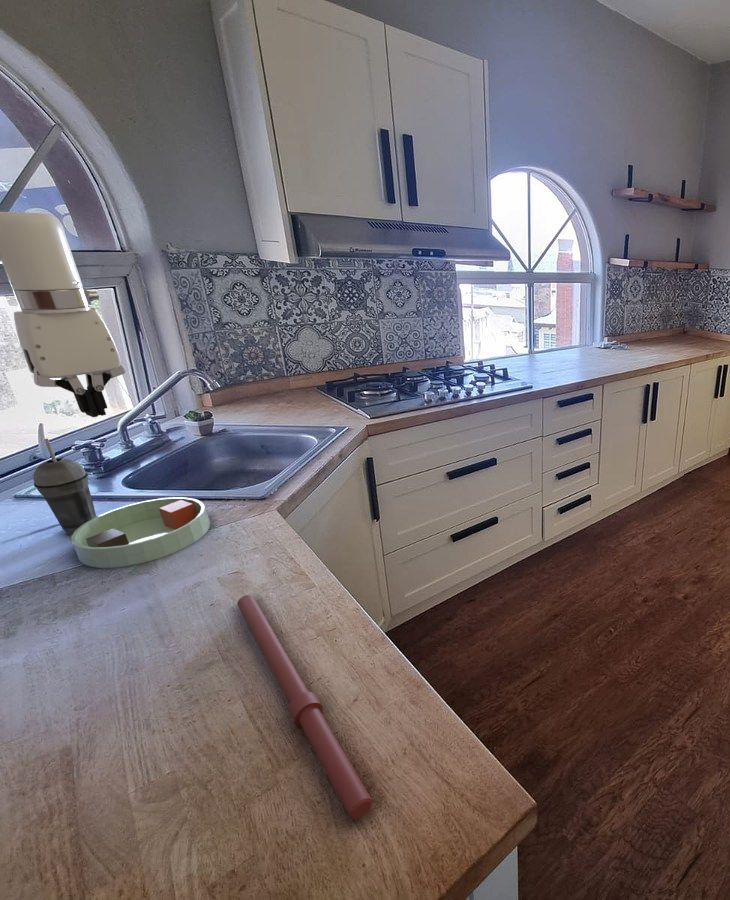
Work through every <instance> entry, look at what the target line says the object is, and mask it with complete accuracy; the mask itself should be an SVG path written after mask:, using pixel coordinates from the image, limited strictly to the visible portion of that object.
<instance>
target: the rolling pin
mask: <svg viewBox="0 0 730 900" xmlns="http://www.w3.org/2000/svg"><path fill="white" fill-rule="evenodd" d="M236 605H237V607H238V609H239V611H240V612H241V615H242V617H243V619H244V620H245V622H246V624H247V626H248V627H249V630H250V631H251V633H252V635H253V638H254V639H255V641H256V642H257V644H258V646H259V648H260V650H261V652H262V654H263V656H264V658H265V660H266V661H267V664H268V665H269V667H270V669H271V671H272V673H273V675H274V677H275V679H276V680H277V682H278V684H279V686H280V688H281V690H282V692H283V694H284V695H285V698H286V699H287V701H288V703H289V705H288V709H287V710H288V713H289V715H290V717H291V719H292V720H293V723H294V725H295V726H296V727H298V728H302V730H303V732H304V733H305V736H306V737H307V739H308V741H309V743H310V744H311V747H312V749H313V750H314V753H315V754H316V756H317V758H318V760H319V762H320V764H321V765H322V767H323V770H324V771H325V773H326V775H327V777H328V779H329V780H330V782H331V784H332V786H333V788H334V790H335V792H336V794H337V795H338V797H339V799H340V801H341V803H342V805H343V807H344V809H345V810H346V813H347V815H348V817H349V818H350V820H353V821H356V820H359V819H361V818H363V817H365V816H366V815H367V814H368V813H369V811H370V809H371V808H372V806H373V799H372V798H371V796H370V794H369V792H368V791H367V789H366V787H365V785H364V784H363V782H362V780H361V779H360V777H359V775H358V774H357V772H356V770H355V768H354V767H353V765H352V763H351V762H350V760H349V758H348V756H347V754H346V753H345V751H344V750H343V748H342V746H341V744H340V742H339V741H338V739H337V737H336V736H335V734H334V732H333V731H332V729H331V728H330V725H329V723H328V722H327V720H326V719H325V717H324V715H323V710H324V708H323V707H324V706H323V705H322V703H321V701H320V700H319V698H318V695H316V693H315V692H313V691H309V690H308V687H307V686H306V685H305V683H304V681H303V679H302V678H301V676H300V673H299V672H298V670H297V669H296V667H295V665H294V664H293V662H292V661H291V658H290V657H289V656H288V653H287V652H286V650H285V648H284V647H283V645H282V643H281V642H280V640H279V638H278V637H277V635H276V633H275V631H274V630H273V628H272V626H271V625H270V623H269V620H267V618H266V616H265V614H264V612H263V611H262V608H260V606H259V604H258V603H257V601H256V599H255V597H254V596H253V595H251V594H246V595H245V594H244V595H243V596H241V597H240V598H239V599H238V601H237V604H236Z"/></svg>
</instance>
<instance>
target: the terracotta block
mask: <svg viewBox="0 0 730 900" xmlns="http://www.w3.org/2000/svg"><path fill="white" fill-rule="evenodd" d="M159 510H160V513H161V516H162V519H163V522H164V525H165V526H168V527H170V528H173V529H175V530H176V529H178V528H180V527H182V526H184V525H186V524H187V523H189V522H190V521H192V520H193V519H195V518H196V517H197V516H196V513H195V509H194V506H193V504H191V503H188V502H186V501H183V500H179V501H177V502H174V503H171V504H169V505H166V506H163V507H161V508H159Z"/></svg>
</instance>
